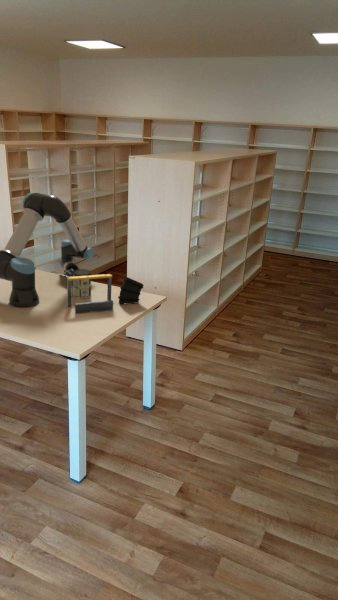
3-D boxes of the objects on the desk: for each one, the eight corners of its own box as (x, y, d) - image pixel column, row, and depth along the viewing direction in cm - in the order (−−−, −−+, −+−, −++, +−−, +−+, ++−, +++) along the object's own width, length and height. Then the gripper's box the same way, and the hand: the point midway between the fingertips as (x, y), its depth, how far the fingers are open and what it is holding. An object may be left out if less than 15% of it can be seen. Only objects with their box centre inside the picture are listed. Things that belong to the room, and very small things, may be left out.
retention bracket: (72, 314, 222) (72, 283, 217) (67, 306, 232) (66, 276, 226) (116, 309, 233) (117, 280, 227) (109, 302, 242) (110, 273, 236)
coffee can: (81, 291, 255) (81, 268, 251) (94, 295, 251) (95, 271, 246) (68, 295, 247) (68, 271, 242) (82, 299, 242) (82, 275, 237)
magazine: (113, 300, 241) (125, 276, 239) (132, 307, 248) (144, 284, 245) (115, 302, 238) (127, 278, 236) (135, 310, 244) (147, 286, 242)
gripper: (81, 273, 277) (92, 285, 257) (60, 274, 271) (70, 287, 251) (81, 262, 274) (92, 273, 254) (60, 263, 268) (70, 274, 249)
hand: (81, 280), depth 253 cm, fingers closed
